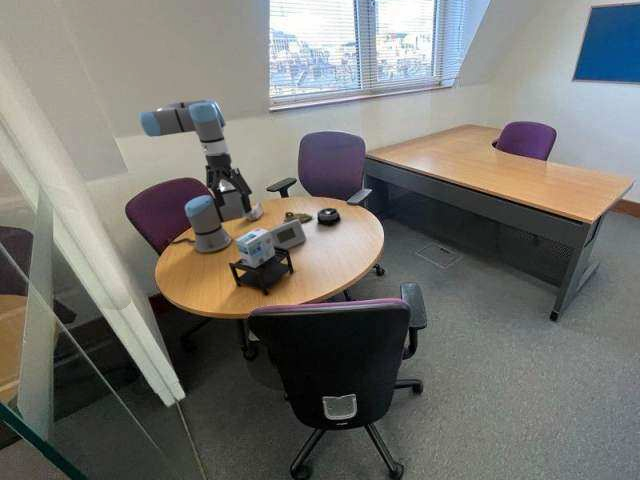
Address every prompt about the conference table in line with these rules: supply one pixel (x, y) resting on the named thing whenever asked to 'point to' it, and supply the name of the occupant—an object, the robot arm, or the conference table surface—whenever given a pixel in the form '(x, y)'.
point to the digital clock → (288, 234)
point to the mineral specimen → (255, 212)
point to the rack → (263, 271)
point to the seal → (297, 217)
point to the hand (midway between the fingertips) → (235, 208)
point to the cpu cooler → (328, 216)
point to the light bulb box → (255, 247)
